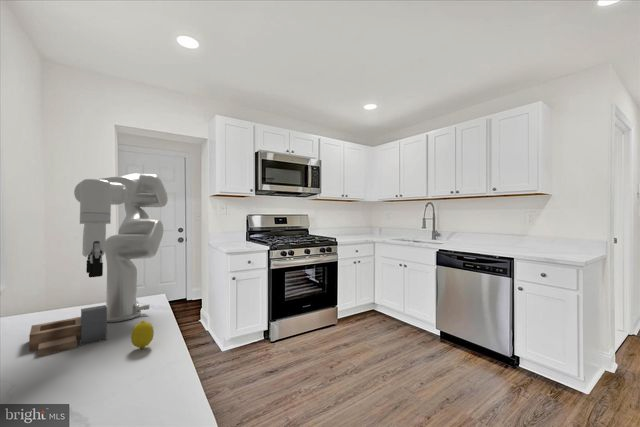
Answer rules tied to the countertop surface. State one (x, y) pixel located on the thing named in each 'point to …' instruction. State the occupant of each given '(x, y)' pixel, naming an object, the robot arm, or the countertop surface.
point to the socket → (55, 336)
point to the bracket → (93, 324)
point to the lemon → (142, 334)
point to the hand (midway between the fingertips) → (94, 274)
